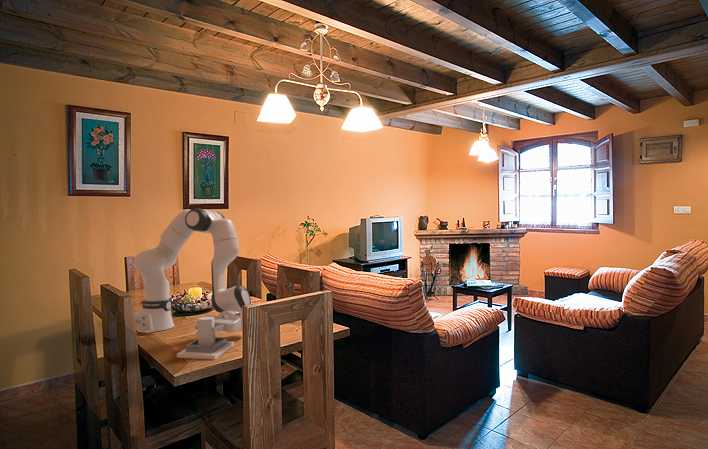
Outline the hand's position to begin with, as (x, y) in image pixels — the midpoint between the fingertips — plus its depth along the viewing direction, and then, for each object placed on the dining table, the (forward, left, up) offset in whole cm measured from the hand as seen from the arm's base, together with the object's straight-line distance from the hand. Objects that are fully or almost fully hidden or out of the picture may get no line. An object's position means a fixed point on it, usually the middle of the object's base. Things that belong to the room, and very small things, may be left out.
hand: (204, 328), depth 172 cm
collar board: (0, +1, -10) cm, 10 cm away
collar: (0, +1, -8) cm, 8 cm away
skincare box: (0, +1, -8) cm, 8 cm away
